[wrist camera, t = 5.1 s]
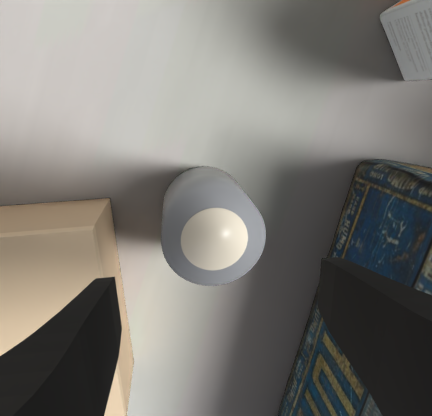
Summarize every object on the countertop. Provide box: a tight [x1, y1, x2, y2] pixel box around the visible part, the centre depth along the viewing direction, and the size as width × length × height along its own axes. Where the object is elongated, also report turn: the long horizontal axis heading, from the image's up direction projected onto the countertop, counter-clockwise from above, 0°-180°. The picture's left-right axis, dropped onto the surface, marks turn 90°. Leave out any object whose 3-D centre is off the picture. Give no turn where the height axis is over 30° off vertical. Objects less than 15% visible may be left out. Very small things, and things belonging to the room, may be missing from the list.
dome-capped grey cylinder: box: [161, 167, 266, 286], centre depth 18 cm, size 5×5×5 cm
